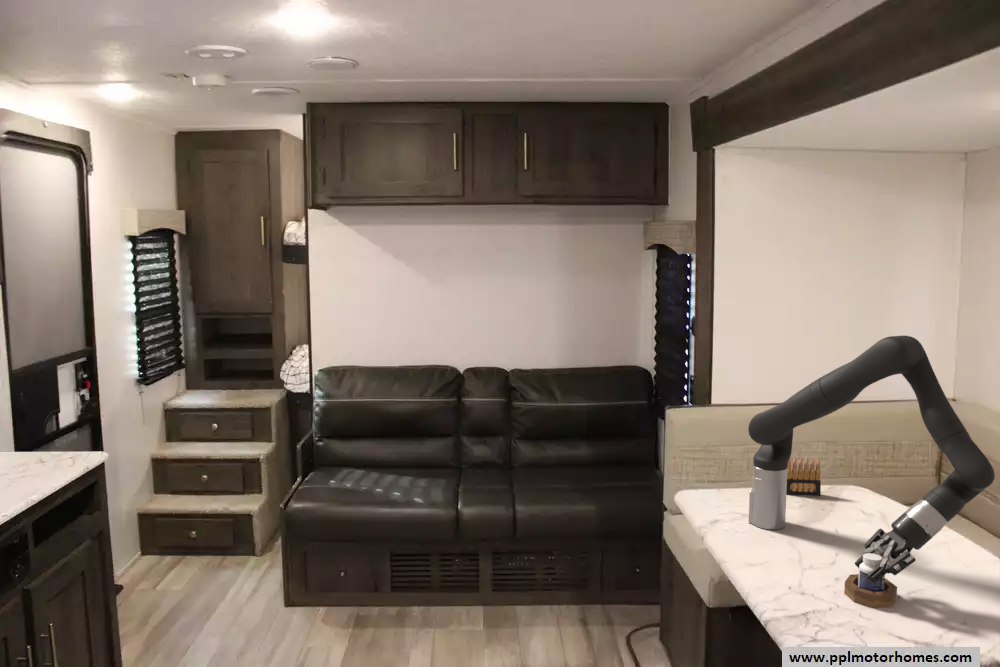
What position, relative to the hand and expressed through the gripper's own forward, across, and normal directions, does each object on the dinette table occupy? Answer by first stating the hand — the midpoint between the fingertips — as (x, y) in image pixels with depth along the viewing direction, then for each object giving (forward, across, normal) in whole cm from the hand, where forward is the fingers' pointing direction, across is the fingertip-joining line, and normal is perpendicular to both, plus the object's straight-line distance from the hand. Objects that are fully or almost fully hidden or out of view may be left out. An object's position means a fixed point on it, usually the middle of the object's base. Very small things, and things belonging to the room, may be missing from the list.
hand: (864, 573), depth 177 cm
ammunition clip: (-3, -67, +12) cm, 68 cm away
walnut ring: (+3, 0, +5) cm, 6 cm away
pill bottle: (+3, 0, +6) cm, 6 cm away
